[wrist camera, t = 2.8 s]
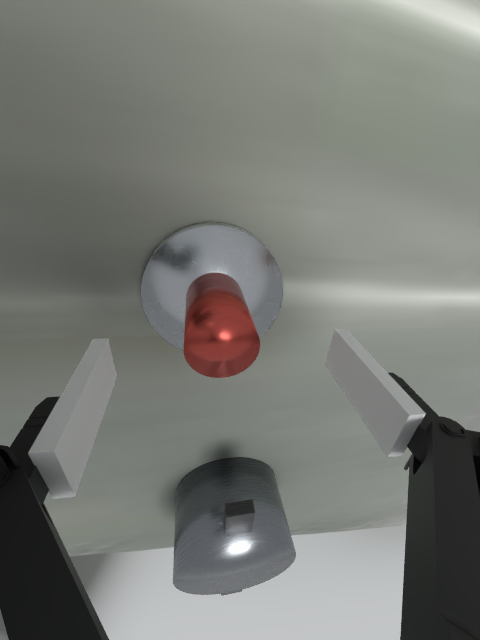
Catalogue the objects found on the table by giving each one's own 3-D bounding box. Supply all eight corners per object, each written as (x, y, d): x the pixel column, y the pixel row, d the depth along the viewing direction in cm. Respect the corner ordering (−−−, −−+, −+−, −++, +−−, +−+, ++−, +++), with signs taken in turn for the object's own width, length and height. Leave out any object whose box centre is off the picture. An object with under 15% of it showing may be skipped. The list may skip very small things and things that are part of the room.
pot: (169, 445, 31) (164, 537, 24) (284, 432, 34) (313, 512, 26) (180, 531, 42) (179, 613, 35) (266, 517, 45) (282, 590, 37)
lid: (135, 218, 19) (102, 251, 12) (287, 225, 20) (334, 257, 14) (150, 347, 24) (134, 420, 17) (269, 343, 26) (296, 408, 19)
